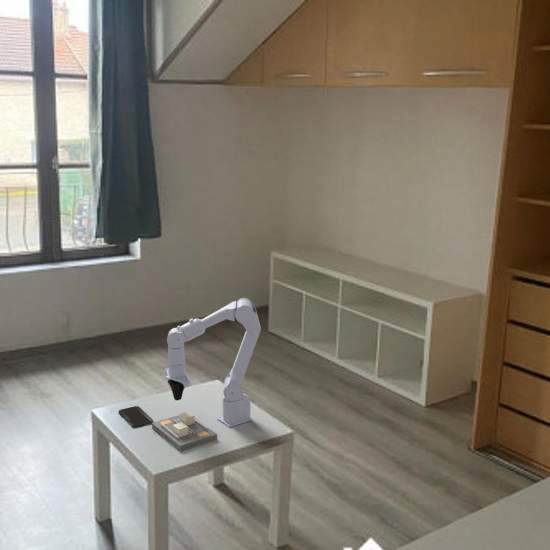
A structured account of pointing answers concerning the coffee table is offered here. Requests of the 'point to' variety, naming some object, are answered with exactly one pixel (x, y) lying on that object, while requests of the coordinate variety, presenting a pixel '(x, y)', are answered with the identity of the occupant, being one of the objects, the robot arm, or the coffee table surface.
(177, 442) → the switch board
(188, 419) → the tab
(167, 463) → the coffee table surface
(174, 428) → the tab
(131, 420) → the phone
